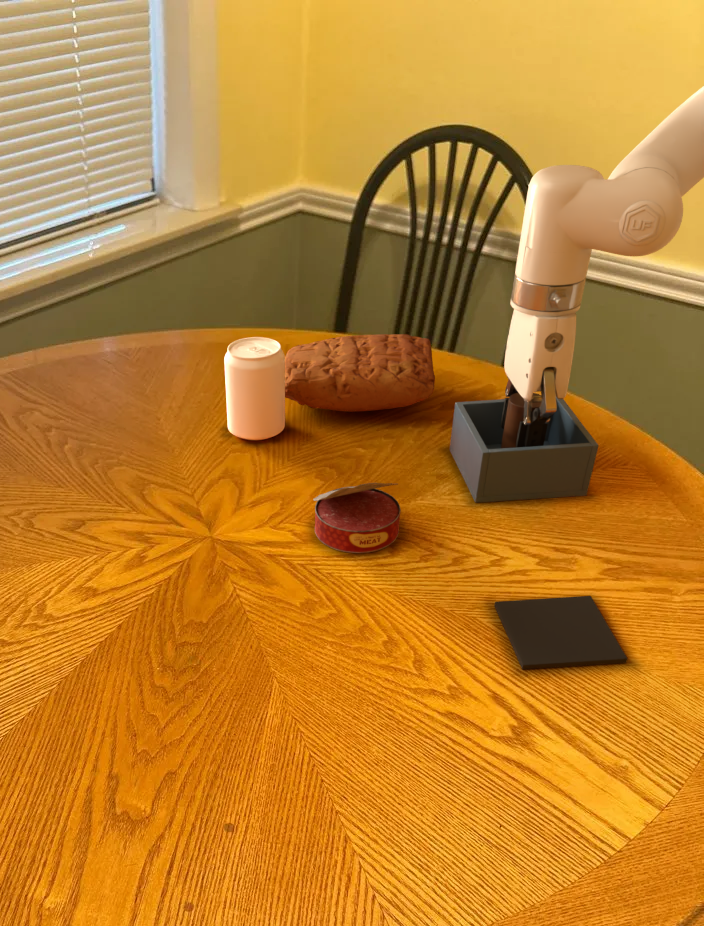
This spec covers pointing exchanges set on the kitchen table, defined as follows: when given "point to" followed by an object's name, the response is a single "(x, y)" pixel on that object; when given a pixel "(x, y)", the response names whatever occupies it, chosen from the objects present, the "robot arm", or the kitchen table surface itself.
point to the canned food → (357, 518)
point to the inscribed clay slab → (360, 372)
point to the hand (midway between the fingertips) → (520, 438)
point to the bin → (521, 455)
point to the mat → (559, 632)
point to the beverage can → (255, 388)
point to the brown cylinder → (515, 419)
